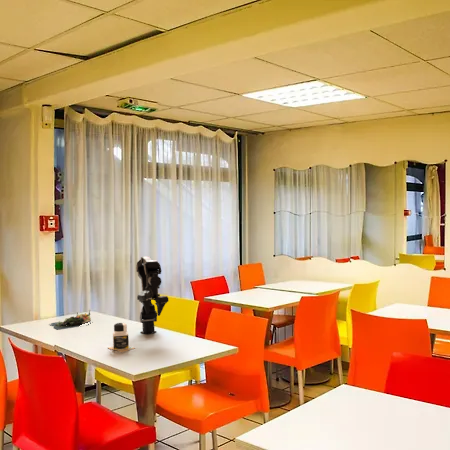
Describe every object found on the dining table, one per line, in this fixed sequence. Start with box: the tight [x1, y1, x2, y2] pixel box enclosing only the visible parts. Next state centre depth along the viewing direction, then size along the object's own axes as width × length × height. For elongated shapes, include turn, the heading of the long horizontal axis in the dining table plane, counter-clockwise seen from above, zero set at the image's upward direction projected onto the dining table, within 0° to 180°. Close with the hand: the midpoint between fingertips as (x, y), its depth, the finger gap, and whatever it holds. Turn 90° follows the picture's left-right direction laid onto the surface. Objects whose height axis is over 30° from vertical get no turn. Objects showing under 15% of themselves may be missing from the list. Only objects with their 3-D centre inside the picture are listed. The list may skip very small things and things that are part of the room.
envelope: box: [107, 346, 136, 353], centre depth 255 cm, size 11×8×1 cm
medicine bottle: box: [112, 322, 130, 351], centre depth 254 cm, size 7×7×12 cm
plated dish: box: [48, 310, 92, 331], centre depth 316 cm, size 35×28×7 cm
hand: (153, 314), depth 271 cm, fingers open, 9 cm apart
